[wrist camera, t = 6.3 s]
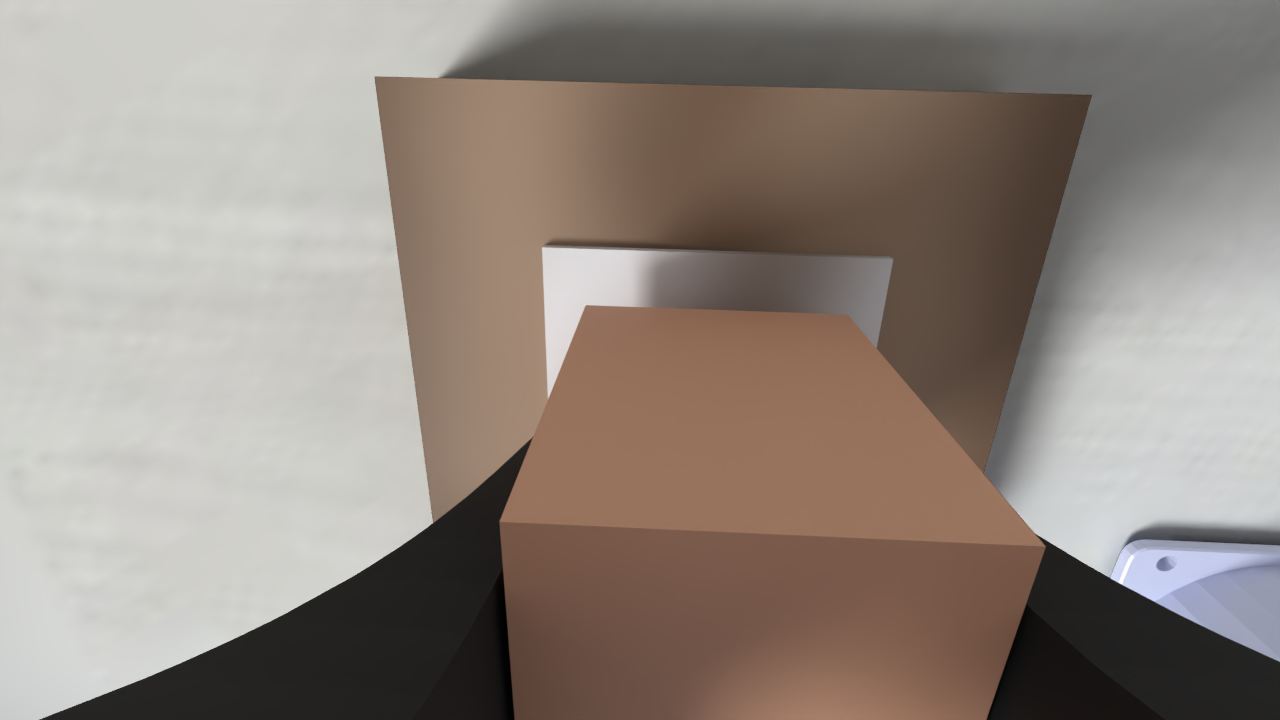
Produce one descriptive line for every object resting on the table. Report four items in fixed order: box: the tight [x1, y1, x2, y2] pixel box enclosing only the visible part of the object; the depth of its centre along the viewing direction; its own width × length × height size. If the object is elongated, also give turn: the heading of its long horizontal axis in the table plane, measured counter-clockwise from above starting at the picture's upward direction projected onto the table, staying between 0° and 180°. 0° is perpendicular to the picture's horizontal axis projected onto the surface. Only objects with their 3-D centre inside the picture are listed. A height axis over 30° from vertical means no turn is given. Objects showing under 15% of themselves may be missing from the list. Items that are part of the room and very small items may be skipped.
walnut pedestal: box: [375, 77, 1092, 523], centre depth 14 cm, size 12×12×3 cm
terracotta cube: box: [500, 305, 1046, 720], centre depth 9 cm, size 4×4×6 cm
